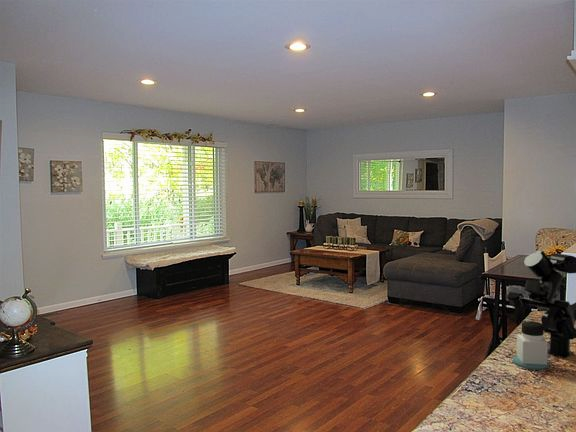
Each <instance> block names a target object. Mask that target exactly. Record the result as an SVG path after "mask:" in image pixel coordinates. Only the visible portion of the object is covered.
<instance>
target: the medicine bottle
mask: <svg viewBox="0 0 576 432" xmlns="http://www.w3.org/2000/svg"><path fill="white" fill-rule="evenodd" d="M542 327H543V325H542V322H541V323H540V322H538V321H535V320H526V321H522V323H521V334H520V333H518V334H516V356H518V358H519V359H520V360H521V362H522V363H523V364H537V365H547V364H548V363H549V361H548V359H549V357H548V356H549V353H548V349H549V342H548V341H547V340H546V339H545V338H544V331H543V330H542Z"/></svg>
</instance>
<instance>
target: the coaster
mask: <svg viewBox="0 0 576 432" xmlns="http://www.w3.org/2000/svg"><path fill="white" fill-rule="evenodd" d="M512 363H513V364H514V365H516V366H518V367H520V368H524V369H527V370H528V369H529V370H534V371H535V370H537V371H538V370H546V369H548V368H549V367H550V365H549V362H548V364H547V365H537V364H523V363H522V362H521V360H520V359H519V358H518V356H517V355H515V356H513V357H512Z"/></svg>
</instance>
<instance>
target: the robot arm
mask: <svg viewBox="0 0 576 432" xmlns="http://www.w3.org/2000/svg"><path fill="white" fill-rule="evenodd" d="M523 263H524V265H525V266H526V267H527V268H528V269H529V271H531V273H532V274H533V275H534V276H535V277H536V278H539V280H538V281H535V280H534V281H533V280H530V279H529V280H528V279H527V280H526V282H525V285H524V291H525V292H528V293H527V295H528V297H529V298H526V297H525V296H524V295H523V293H521V292H519V291H509V292H508V294H507V295H506V299H507V301H508V302H509V304H510V306H512V307H513V308H514V324H515V325H518V324H519V323H520V321H521V319H522V318H523V317H524V315H525V312H526V309H525V308H526V306H531V307H537V308H542V309H545V312H544V313H542V316H541V318H540V319H541V320H540V321H541V324H542V325H543V327H542V330H543V333H547V334H549V348H548V355H553V356H557V357H560V358H564V359H565V358H569V357H570V356H573V355H574V354H575V352H574V351H571V350H570V349H571V340H572V341H573V340H574V339H576V327H575V324H576V302H574V303H572V304H571V303H570V301H569V300H568V301H567V300H562V299H557V291H558V290H559V286H560V284H561V285H562V284H564V285H565V284H566V283H567V280H566V279H565V277H564V275H563V274H562V273H564V274H565V273H566V274H576V256H573V255H569V254H563V253H552V255H551V256H549V257H548V256H547V254H546V253H545V252H544V251H543V250H539V249H537V250H536V252H533V253H531V254H529V255H527V256H526V257H525V258H524V262H523ZM553 301H554V302H553ZM552 302H553V303H552Z"/></svg>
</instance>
